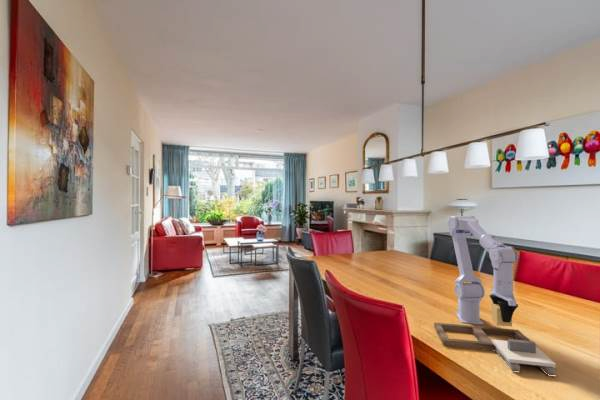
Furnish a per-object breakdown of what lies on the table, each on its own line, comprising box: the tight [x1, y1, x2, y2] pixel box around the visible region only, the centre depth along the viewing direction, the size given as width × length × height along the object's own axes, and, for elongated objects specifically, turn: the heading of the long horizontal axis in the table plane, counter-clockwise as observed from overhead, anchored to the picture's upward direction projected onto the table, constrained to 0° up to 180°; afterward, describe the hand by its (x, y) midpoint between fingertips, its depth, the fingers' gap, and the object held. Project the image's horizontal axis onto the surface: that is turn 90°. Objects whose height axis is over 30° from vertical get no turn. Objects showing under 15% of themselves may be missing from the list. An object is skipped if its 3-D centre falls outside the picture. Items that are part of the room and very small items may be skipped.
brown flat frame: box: [433, 322, 557, 376], centre depth 98 cm, size 26×29×2 cm
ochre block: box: [491, 303, 513, 328], centre depth 102 cm, size 4×4×6 cm
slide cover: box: [491, 338, 557, 368], centre depth 91 cm, size 12×12×4 cm
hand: (503, 318), depth 102 cm, fingers closed on ochre block, 4 cm apart
